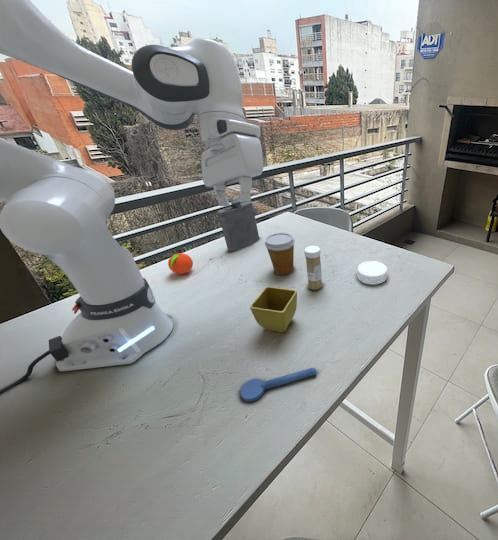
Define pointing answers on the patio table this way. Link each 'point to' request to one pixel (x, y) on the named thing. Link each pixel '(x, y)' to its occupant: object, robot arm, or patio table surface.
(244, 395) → the spoon
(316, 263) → the sprinkles bottle
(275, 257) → the disposable coffee cup
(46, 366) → the patio table surface
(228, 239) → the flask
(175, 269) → the clementine
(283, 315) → the flower pot
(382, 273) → the white round disc
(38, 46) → the robot arm
